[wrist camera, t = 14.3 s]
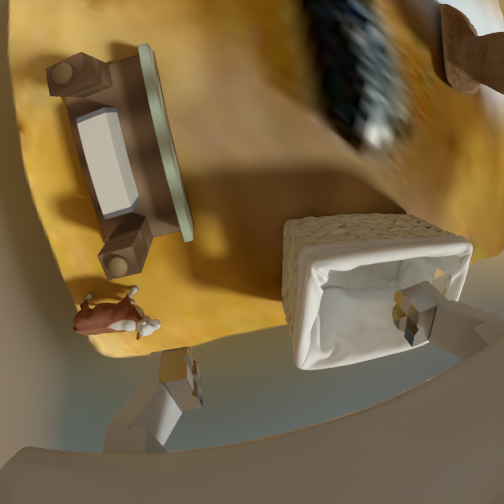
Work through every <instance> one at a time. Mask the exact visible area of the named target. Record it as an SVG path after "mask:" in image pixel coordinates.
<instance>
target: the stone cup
mask: <svg viewBox="0 0 504 504" xmlns="http://www.w3.org/2000/svg"><path fill="white" fill-rule="evenodd" d="M440 15H441V29H442V43H443V54H444V67H445V74H446V78H447V81H448V83H449V84H450V85H451V86H452V87H453V88H454V89H456V90H457V91H459V92H461V93H463V94H467V95H472V94H475V93H477V91H478V88H479V85H480V84H484V85H486V86H488V87H490V88H492V89H494V90H495V91H497V92H499V93H501V94H504V32H496V33H491V34H487V35H484V36H478V35H477V31H476V29H475V28H474V26H473V25H472V24H471V23H470V21H469V19H468V18H467V17H466V16H465V15H464V14H463V13H462V12H461V11H459V10H457V9H456V8H454V7H452V6H450V5H448V4H440Z"/></svg>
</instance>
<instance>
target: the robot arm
mask: <svg viewBox="0 0 504 504" xmlns="http://www.w3.org/2000/svg"><path fill="white" fill-rule="evenodd" d="M394 301H395V302H396V305H395V306H394V308H393V311H392V317H393V322H394V324H395V326H396V327H397V329H398V330H400V331H403V332H404V338H405V339H406V340H407V341H408V343H409V344H410V345H411V347H414V346H416V345H419V344H421V343H423V342H426V341H428V340H429V342H431V343H433V344H434V345H436V346H439V347H440V348H442V349H444V350H446V351H448V352H450V353H452V354H454V355H456V356H458V357H460V358H462V361H461V362H460V363H459V364H457V365H455V366H453V367H451V368H449V369H448V370H446V371H444V372H442V373H440V374H438V375H436V376H434V377H432V378H430V379H428V380H426V381H425V382H422V383H421V384H418V385H416V386H414V387H412V388H410V389H408V390H406V391H404V392H401V393H399V394H397V395H394V396H392V397H390V398H387V399H385V400H383V401H380V402H378V403H375V404H373V405H370V406H368V407H365V408H362V409H360V410H357V411H354V412H351V413H349V414H346V415H343V416H340V417H337V418H334V419H331V420H328V421H325V422H321V423H318V424H315V425H311V426H308V427H305V428H301V429H297V430H293V431H290V432H285V433H282V434H277V435H273V436H269V437H264V438H259V439H255V440H250V441H245V442H239V443H233V444H228V445H221V446H215V447H207V448H201V449H192V450H181V451H171V452H168V451H167V450H166V449H165V448H164V447H163V445H164V443H165V441H166V440H167V438H168V436H169V434H170V433H171V431H172V429H173V428H174V426H175V424H176V422H177V420H178V419H179V417H180V415H181V413H182V411H188V410H194V409H199V408H203V395H202V392H201V390H200V387H201V385H202V378H201V373H200V369H199V366H198V364H197V362H196V361H195V360H193V353H192V351H191V349H190V347H183V348H176V349H170V350H163V351H159V352H151V354H150V355H149V360H148V367H147V375H146V382H145V385H142V386H141V387H140V388H139V389H138V390H137V392H136V393H135V394H134V395H133V396H132V397H131V399H130V400H129V401H128V402H127V403H126V404H125V406H124V407H123V408H122V409H121V410H120V412H119V413H118V414H117V415H116V416H115V417H114V418H113V420H112V421H111V422H110V423H109V424H108V425H107V428H106V433H105V440H104V446H103V453H86V452H71V451H60V450H51V449H44V448H37V447H24V448H22V449H21V450H20V451H18V452H17V453H16V454H15V455H14V456H13V457H12V458H11V459H10V460H9V461H8V462H7V463H6V464H5V465H4V466H3V467H2V468H1V469H0V504H504V320H503V319H501V318H500V317H499V316H498V315H497V314H496V313H493V312H490V311H486V310H483V309H480V308H477V307H473V306H470V305H467V304H464V303H461V302H457V301H454V300H450V301H449V300H448V299H447V298H446V297H444V296H443V295H442V294H441V293H440V292H439V291H438V290H437V289H436V288H435V287H434V286H433V285H431V284H430V283H429V282H428V281H423V282H421V283H418V284H416V285H413V286H410V287H408V288H405V289H402V290H399V291H396V293H395V295H394Z"/></svg>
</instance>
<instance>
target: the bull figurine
mask: <svg viewBox="0 0 504 504" xmlns="http://www.w3.org/2000/svg"><path fill="white" fill-rule="evenodd" d="M138 290H139V288H138V287H137V286H133V287H132V288H130V293H129V294H127V295H126V297H125V298H124V299H123V300H122V301H120V302H119V303H117V304H115V303H101V304H99V305H97V306H96V307H94V308H93V309H91V308H89V306H88V302H89V301H90V300H91V299H92V298H93V297H94V295H93V294H92V293H89V294H88V296H87V297H85V301H84V302H83V303H82V304H81V305H80V308H81V310H80V311H79V312H78V313H77V315H76V316H75V318H74V321H73V322H74V327H73V330H74V331H75V332H76V333H79V334H81V335H97V334H102V333H112V332H125V331H138V333H137V340H139V339H140V336H148V335H150V334H152V333H153V331H155V330H156V329H159V328H160V326H161V323H160V321H159V320H152V319H151V318H150V317H148V316H146V315H145V314H144V312H143V310H142V309H141V308H140V307H139V306H138V305H134V304H135V301H134V300H131V299H132V296H133V294H135V293H136V292H137V291H138Z"/></svg>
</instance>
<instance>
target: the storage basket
mask: <svg viewBox="0 0 504 504" xmlns="http://www.w3.org/2000/svg"><path fill="white" fill-rule="evenodd" d="M283 239H284V241H283V259H282V268H283V272H282V288H281V292H282V305H283V308H284V313H285V315H286V321H287V323H288V331H289V333H290V334H291V338H292V341H293V359H294V362H295V363H296V366H297V367H298V368H300V369H303V370H315V369H323V368H331V367H337V366H343V365H348V364H353V363H358V362H362V361H366V360H370V359H374V358H378V357H382V356H386V355H390V354H393V353H398V352H402V351H406V350H409V349H413V348H416V347H418V346H421V345H424V344H426V343H429V340H428V341H426V342H423V343H421V344H419V345H416V346H414V347H411V345H410V344H409V343H408V341H407V340H406V339H405V338H404V332H403V331H400V330H398V329H397V327H396V326H395V324H394V322H393V317H392V311H393V308H394V306H395V305H396V302H395V301H394V295H395V293H396V291H399V290H402V289H405V288H408V287H410V286H413V285H416V284H418V283H421V282H423V281H428V282H429V283H430V284H431V285H433V281H434V277H435V274H436V270H437V269H438V268H439V269H441V270H442V271H444V272H446V273H447V274H449V278H448V279H447V281H446V287H445V289H444V290H445V291H444V292H443V296H444V297H446V298H447V299H448V300H449V301H450V300H454V301H457V302H458V299H459V296H460V293H461V290H462V287H463V284H464V281H465V278H466V275H467V270H468V266H469V262H470V258H471V255H472V251H473V247H472V244H471V243H470V242H468V241H467V240H466V238H464V237H462V236H457V235H455V234H453V233H450V232H448V231H443V230H442V229H441V228H438V227H437V226H435V225H432V224H430V223H428V222H427V221H424V220H422V219H420V218H417V217H415V216H413V215H405V214H379V213H371V214H351V215H349V214H339V215H334V216H323V217H314V216H308V217H305V218H302V219H290V220H286V222H285V224H284V229H283Z"/></svg>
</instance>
